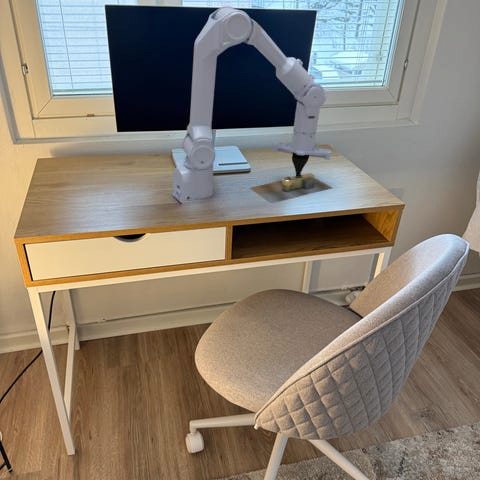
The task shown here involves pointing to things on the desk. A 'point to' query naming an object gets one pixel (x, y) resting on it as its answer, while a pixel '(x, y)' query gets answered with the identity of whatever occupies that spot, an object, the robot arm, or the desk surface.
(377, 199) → the desk surface
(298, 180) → the lock bar
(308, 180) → the block
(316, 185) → the board
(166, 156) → the desk surface
